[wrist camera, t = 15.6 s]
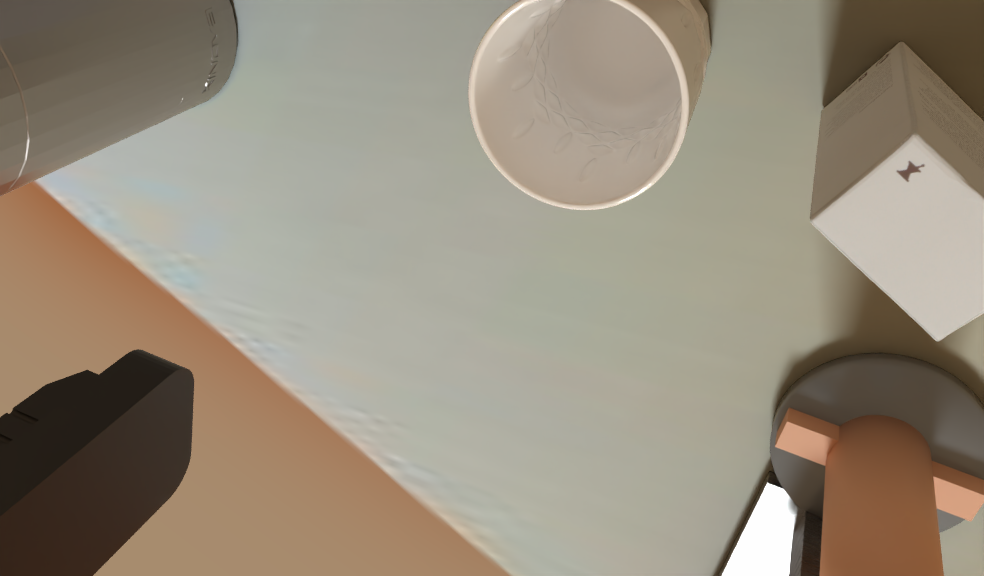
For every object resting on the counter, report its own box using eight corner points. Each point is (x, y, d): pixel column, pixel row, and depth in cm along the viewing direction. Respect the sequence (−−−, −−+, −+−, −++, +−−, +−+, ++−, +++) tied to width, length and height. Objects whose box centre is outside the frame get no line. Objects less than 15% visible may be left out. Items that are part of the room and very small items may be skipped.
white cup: (691, -85, 37) (641, -52, 29) (750, 97, 40) (720, 175, 31) (520, -12, 41) (433, 35, 33) (584, 150, 43) (517, 233, 35)
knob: (800, 383, 44) (781, 562, 33) (1000, 456, 42) (1045, 669, 32) (766, 454, 46) (738, 643, 36) (953, 527, 44) (981, 746, 34)
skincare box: (816, 111, 39) (801, 218, 29) (901, 37, 37) (916, 125, 27) (917, 209, 39) (936, 348, 29) (1008, 142, 37) (1061, 268, 27)
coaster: (743, 478, 48) (741, 492, 47) (817, 323, 43) (816, 335, 42) (936, 553, 47) (938, 570, 46) (1037, 401, 41) (1041, 416, 40)
